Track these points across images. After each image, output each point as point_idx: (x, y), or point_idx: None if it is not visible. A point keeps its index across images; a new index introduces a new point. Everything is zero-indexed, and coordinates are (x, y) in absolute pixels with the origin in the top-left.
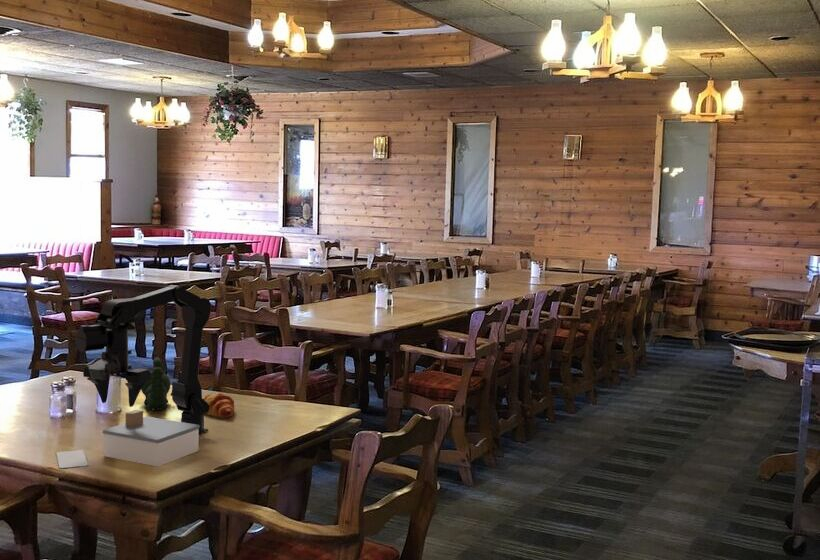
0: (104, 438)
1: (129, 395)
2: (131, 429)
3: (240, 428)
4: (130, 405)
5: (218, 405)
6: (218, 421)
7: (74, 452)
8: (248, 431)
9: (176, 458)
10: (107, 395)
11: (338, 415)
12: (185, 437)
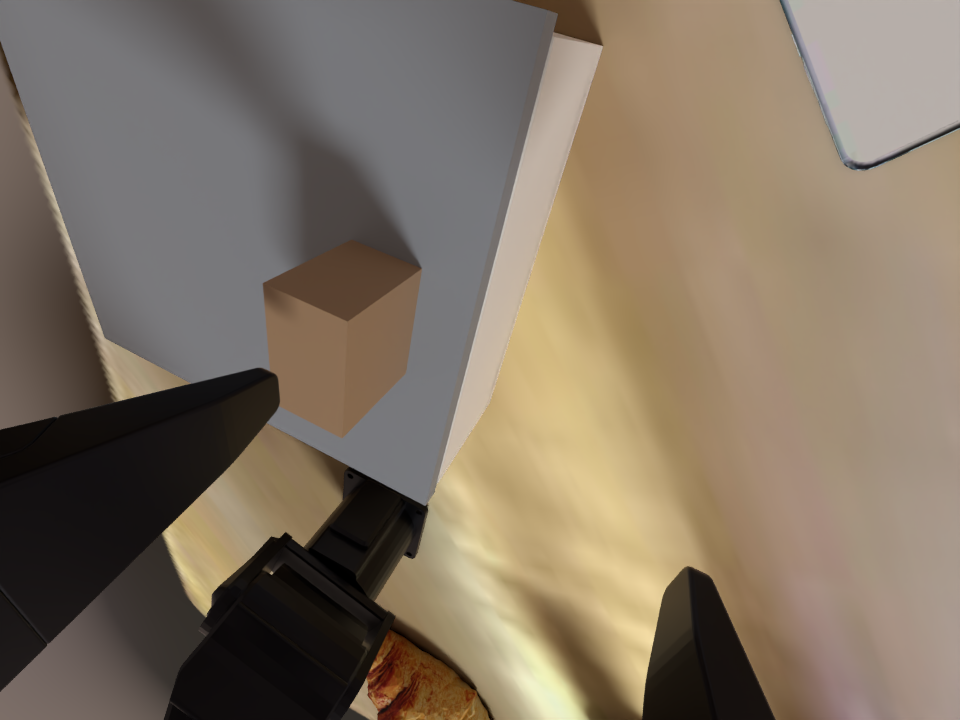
0: (560, 37)
1: (90, 436)
2: (305, 146)
3: (288, 529)
4: (245, 370)
5: (385, 678)
6: (383, 602)
7: (938, 59)
8: (252, 500)
9: None
10: (643, 703)
11: (192, 584)
12: None
